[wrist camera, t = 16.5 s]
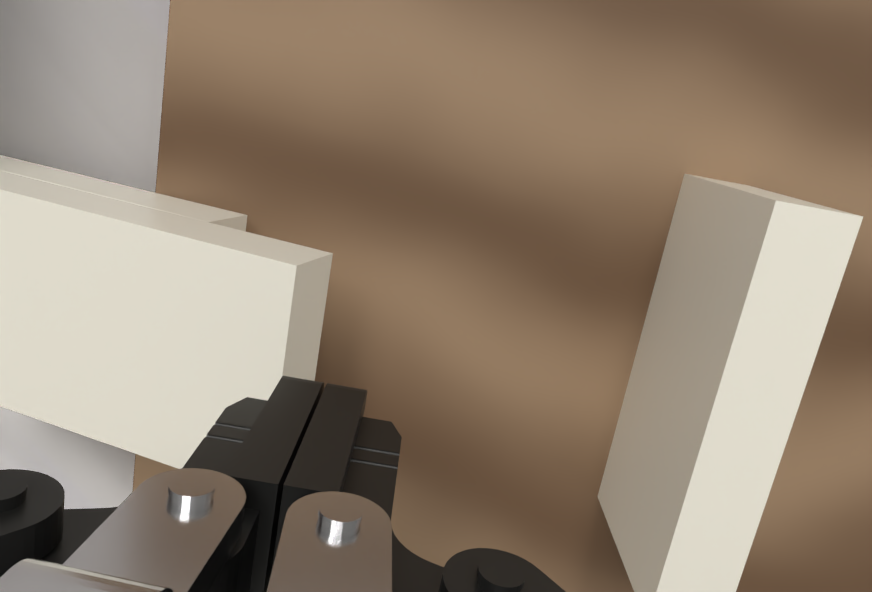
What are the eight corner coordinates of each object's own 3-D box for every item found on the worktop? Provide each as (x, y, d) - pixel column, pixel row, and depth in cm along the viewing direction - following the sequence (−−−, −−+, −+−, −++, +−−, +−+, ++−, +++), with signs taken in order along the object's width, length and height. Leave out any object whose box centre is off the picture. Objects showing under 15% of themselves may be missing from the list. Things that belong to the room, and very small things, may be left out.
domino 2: (302, 466, 16) (-12, 362, 18) (333, 253, 15) (-10, 168, 17) (265, 499, 15) (-72, 381, 17) (296, 265, 13) (-74, 170, 16)
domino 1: (226, 405, 18) (-46, 318, 21) (247, 215, 17) (-46, 143, 19) (187, 428, 17) (-102, 331, 19) (208, 222, 16) (-105, 143, 18)
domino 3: (684, 173, 17) (597, 496, 20) (775, 200, 13) (646, 623, 15) (748, 185, 17) (653, 506, 20) (863, 216, 13) (720, 635, 15)
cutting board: (219, -259, 17) (193, -301, 15) (1305, -39, 18) (1399, -55, 16) (155, 491, 22) (130, 524, 20) (996, 630, 23) (1042, 674, 21)
